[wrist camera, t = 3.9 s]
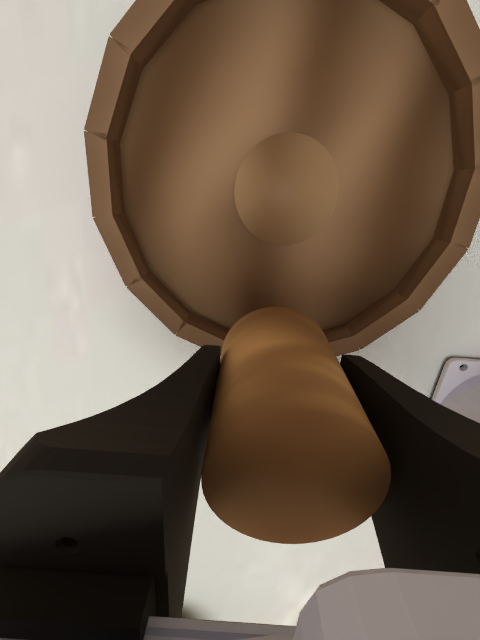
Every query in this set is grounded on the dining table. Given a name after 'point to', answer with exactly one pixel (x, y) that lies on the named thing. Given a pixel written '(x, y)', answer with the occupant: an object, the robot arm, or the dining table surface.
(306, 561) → the dining table surface
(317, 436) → the brown wooden cylinder
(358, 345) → the ring tray
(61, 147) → the dining table surface
